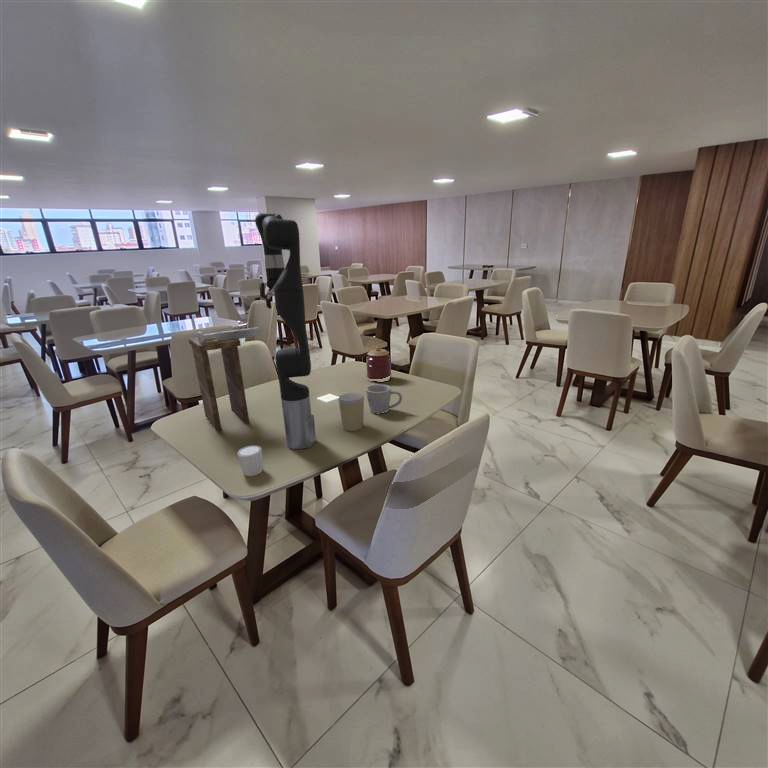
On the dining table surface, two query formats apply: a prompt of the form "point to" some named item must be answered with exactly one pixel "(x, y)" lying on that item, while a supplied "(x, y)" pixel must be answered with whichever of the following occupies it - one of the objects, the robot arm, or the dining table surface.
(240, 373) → the walnut stand
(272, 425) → the dining table surface
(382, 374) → the canister
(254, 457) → the white ribbed cup
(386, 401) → the mug
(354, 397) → the coffee cup
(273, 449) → the dining table surface
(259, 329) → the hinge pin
